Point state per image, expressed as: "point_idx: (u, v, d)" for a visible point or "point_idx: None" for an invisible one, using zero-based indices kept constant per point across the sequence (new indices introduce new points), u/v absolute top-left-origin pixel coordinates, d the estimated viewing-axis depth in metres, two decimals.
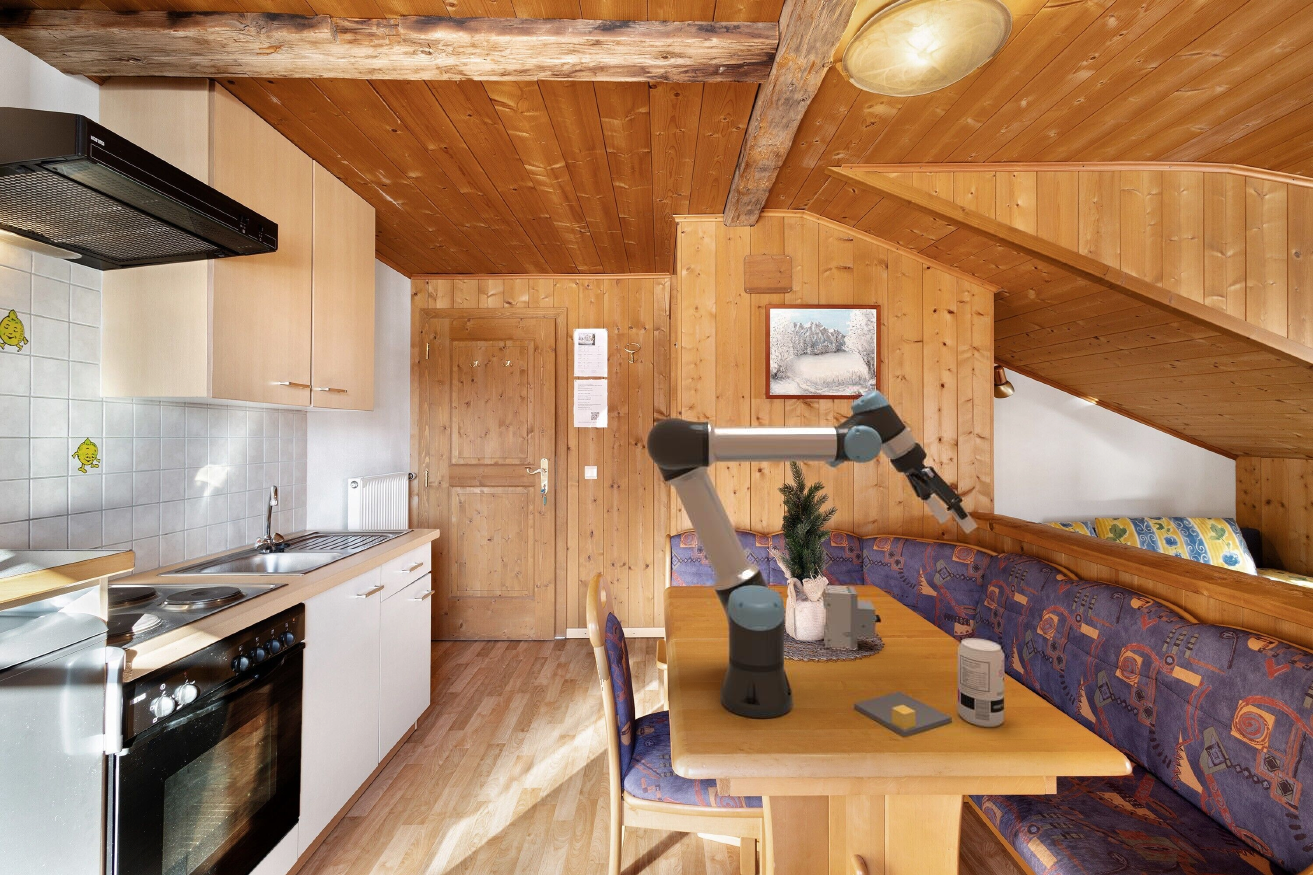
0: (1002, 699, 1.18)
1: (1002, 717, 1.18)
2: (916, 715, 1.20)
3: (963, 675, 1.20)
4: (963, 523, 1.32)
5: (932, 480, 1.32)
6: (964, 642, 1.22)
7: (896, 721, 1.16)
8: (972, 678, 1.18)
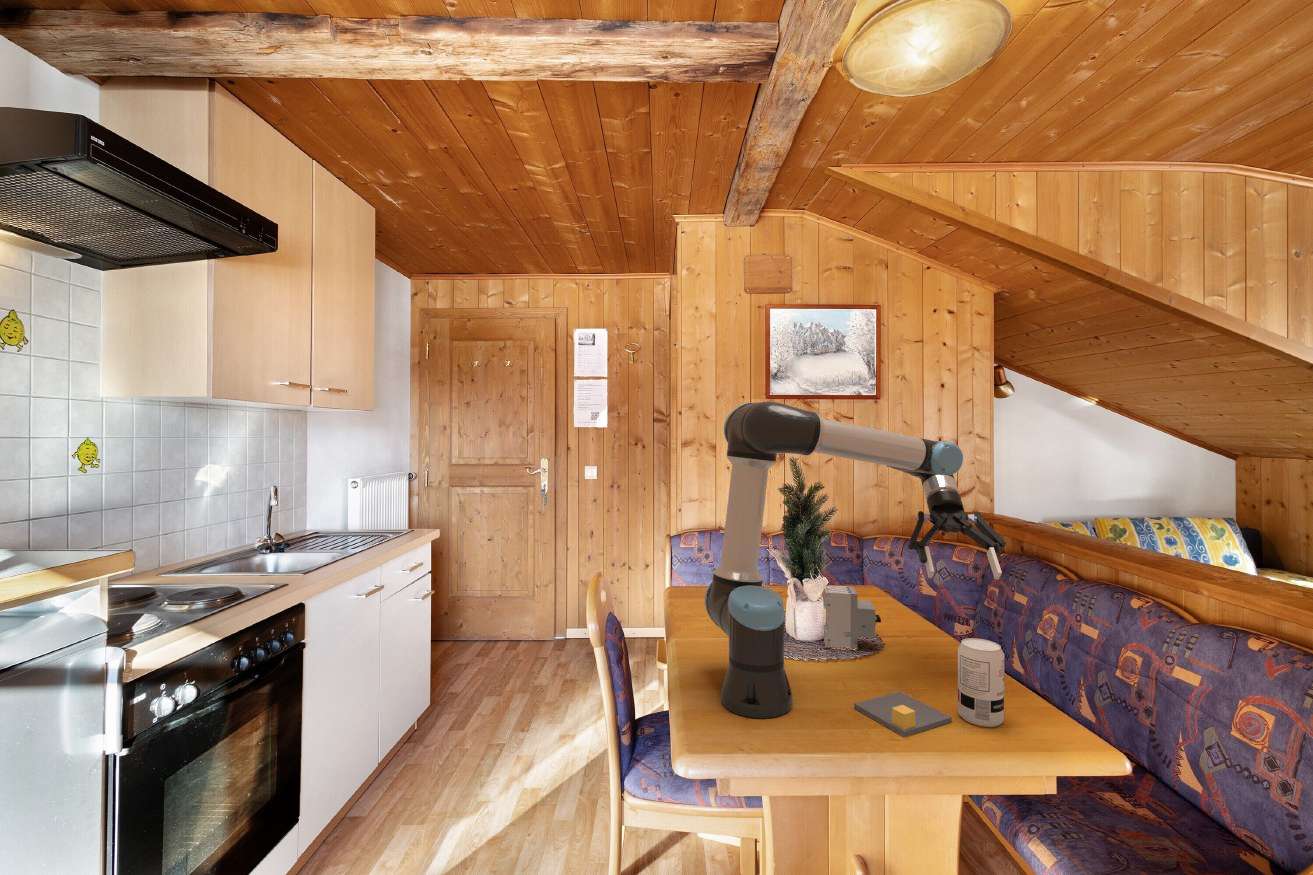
0: (1002, 699, 1.18)
1: (1002, 717, 1.18)
2: (916, 715, 1.20)
3: (963, 675, 1.20)
4: None
5: None
6: (964, 642, 1.22)
7: (896, 721, 1.16)
8: (972, 678, 1.18)
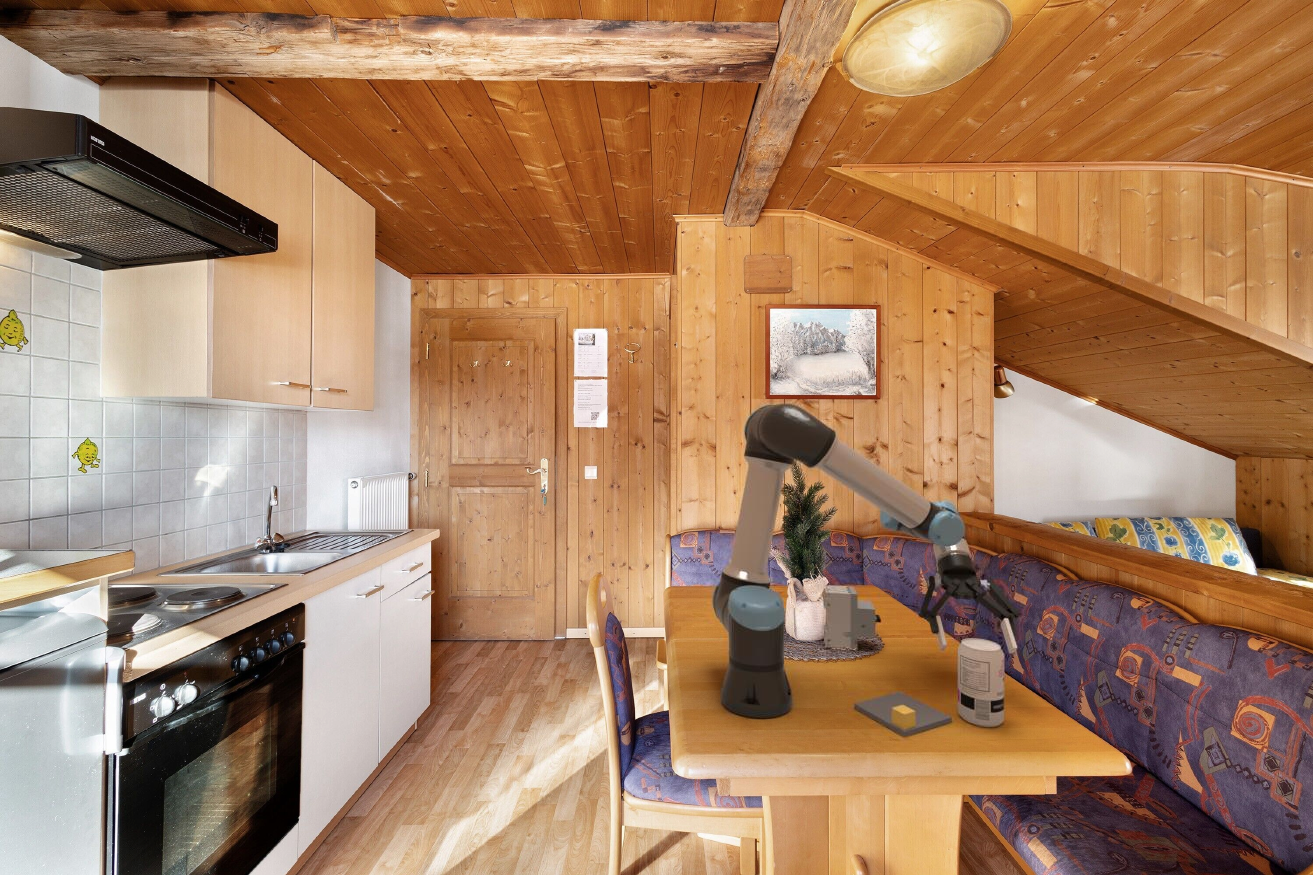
0: (1002, 699, 1.18)
1: (1002, 717, 1.18)
2: (916, 715, 1.20)
3: (963, 675, 1.20)
4: None
5: None
6: (964, 642, 1.22)
7: (896, 721, 1.16)
8: (972, 678, 1.18)
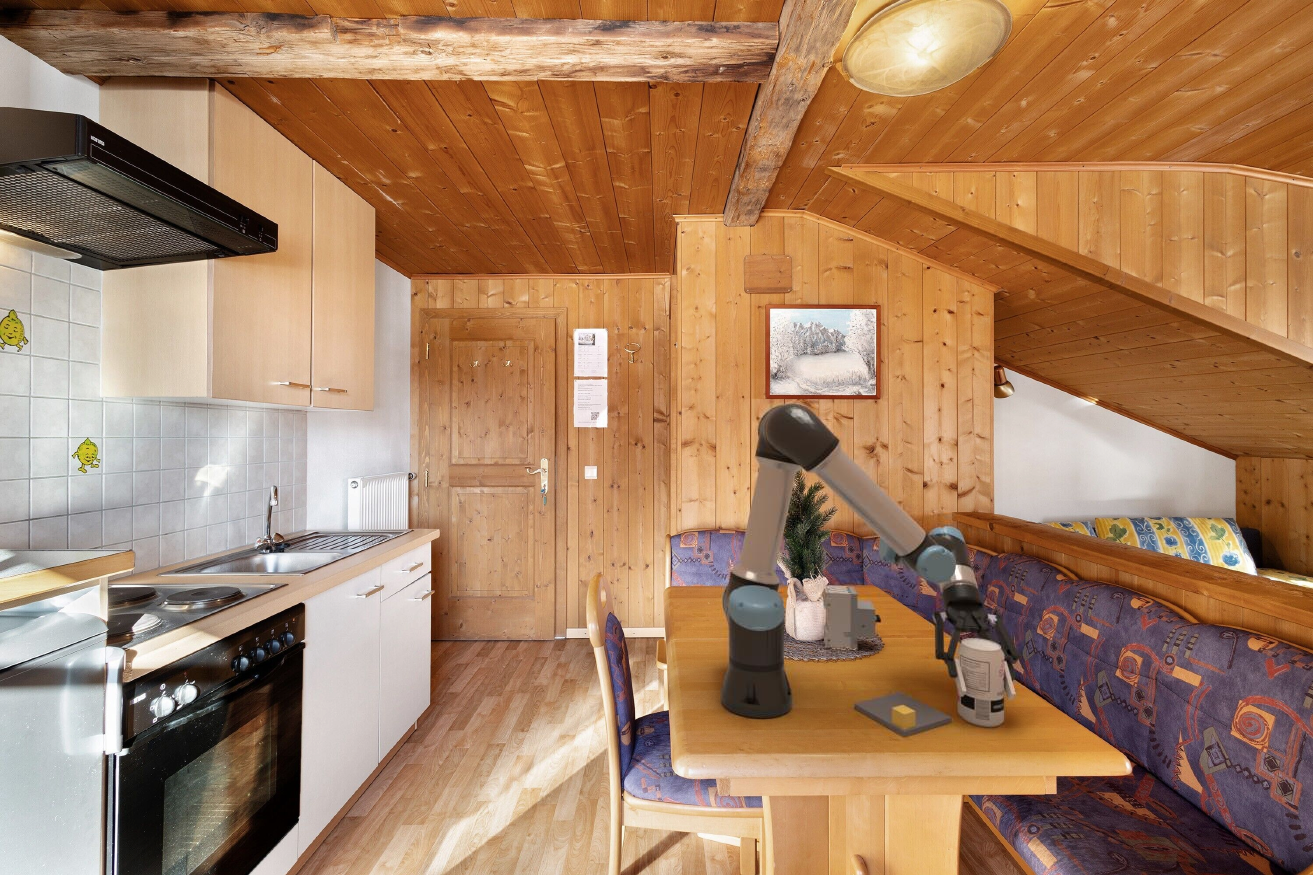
0: (1002, 699, 1.18)
1: (1002, 717, 1.18)
2: (916, 715, 1.20)
3: (963, 675, 1.20)
4: None
5: None
6: (964, 642, 1.22)
7: (896, 721, 1.16)
8: (972, 678, 1.18)
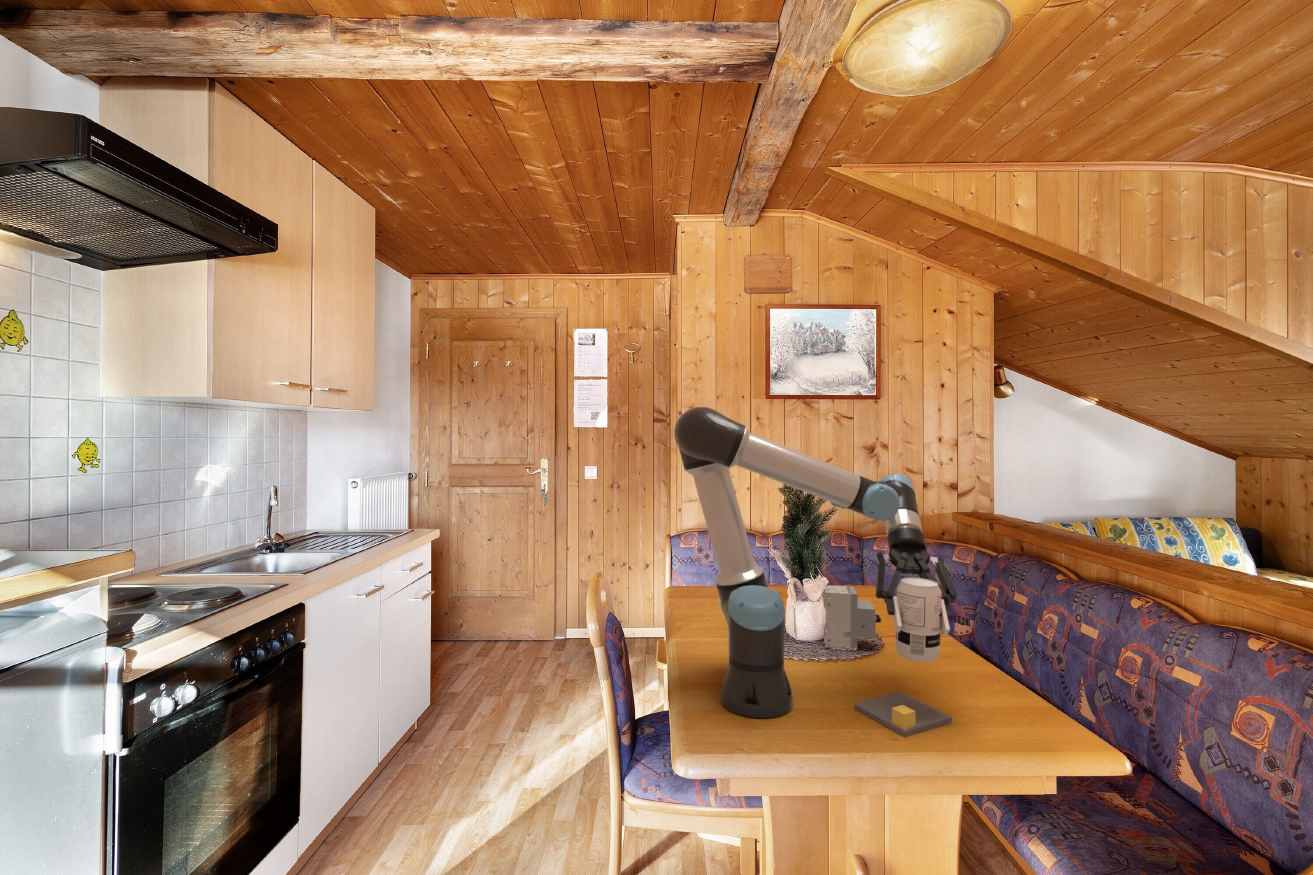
0: (937, 635, 1.19)
1: (937, 653, 1.19)
2: (916, 715, 1.20)
3: (900, 612, 1.21)
4: None
5: None
6: (903, 580, 1.23)
7: (896, 721, 1.16)
8: (908, 614, 1.19)
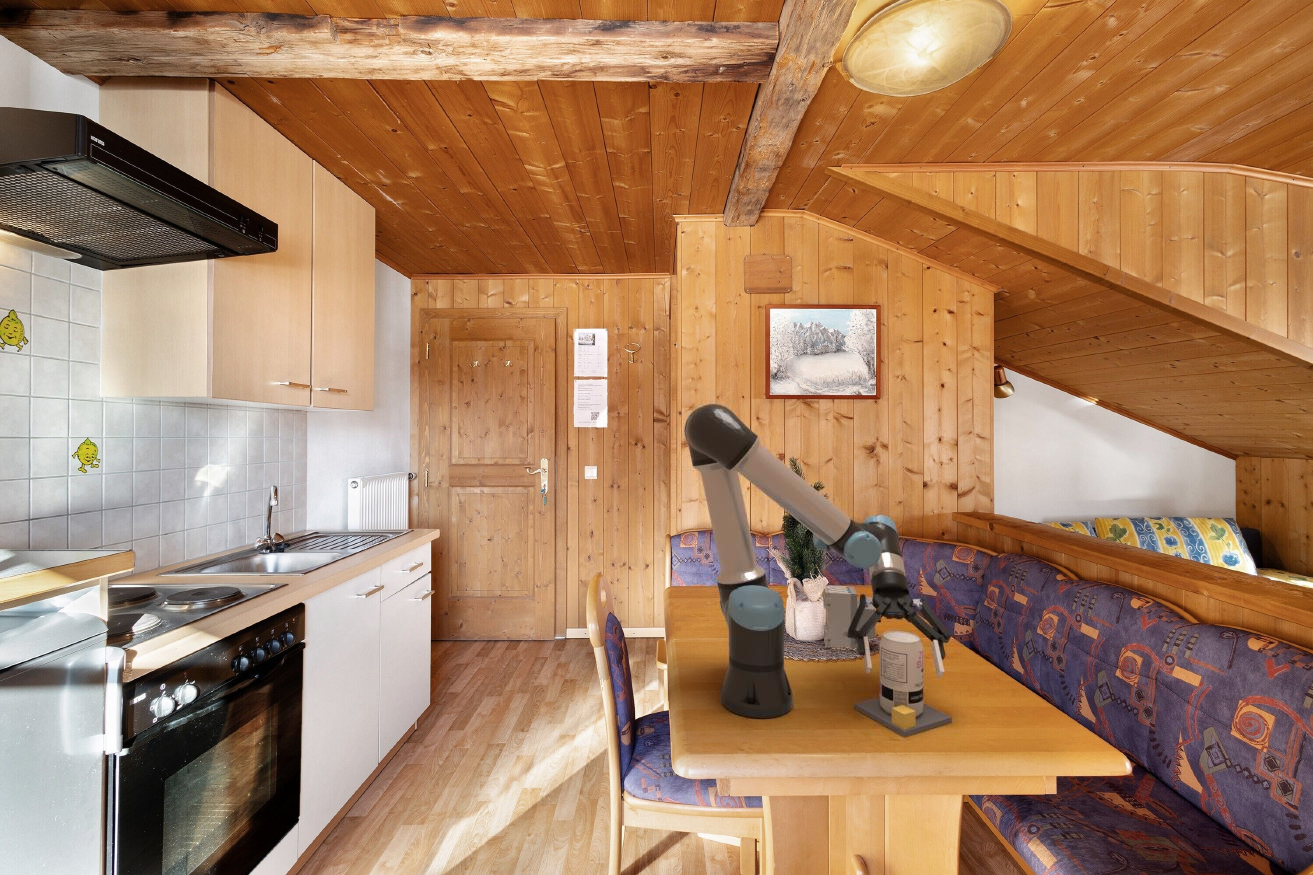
0: (920, 690, 1.19)
1: (920, 708, 1.19)
2: None
3: (883, 667, 1.22)
4: None
5: None
6: (886, 634, 1.24)
7: (896, 721, 1.16)
8: (891, 670, 1.20)
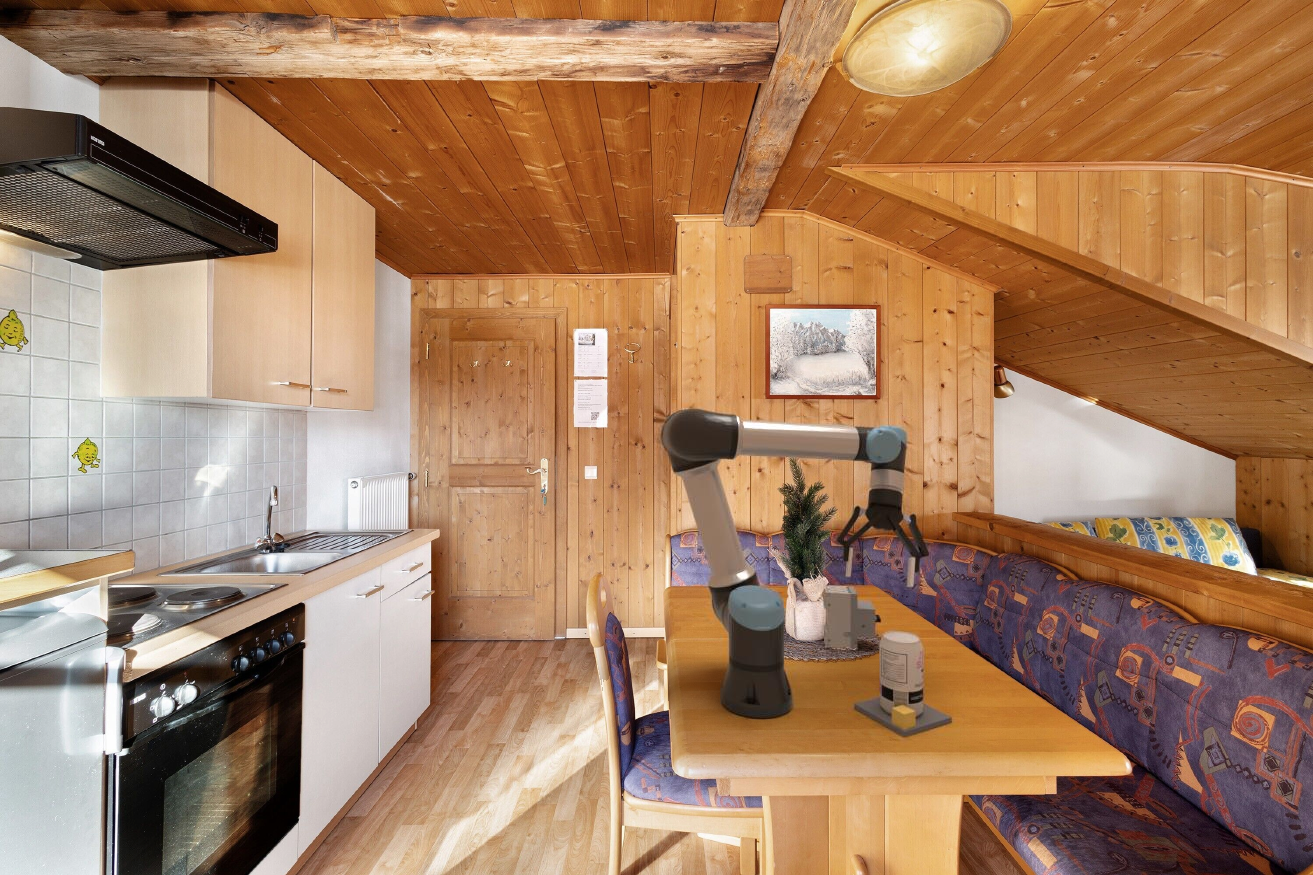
0: (920, 690, 1.19)
1: (920, 708, 1.19)
2: None
3: (883, 667, 1.22)
4: None
5: None
6: (886, 635, 1.24)
7: (896, 721, 1.16)
8: (891, 670, 1.20)
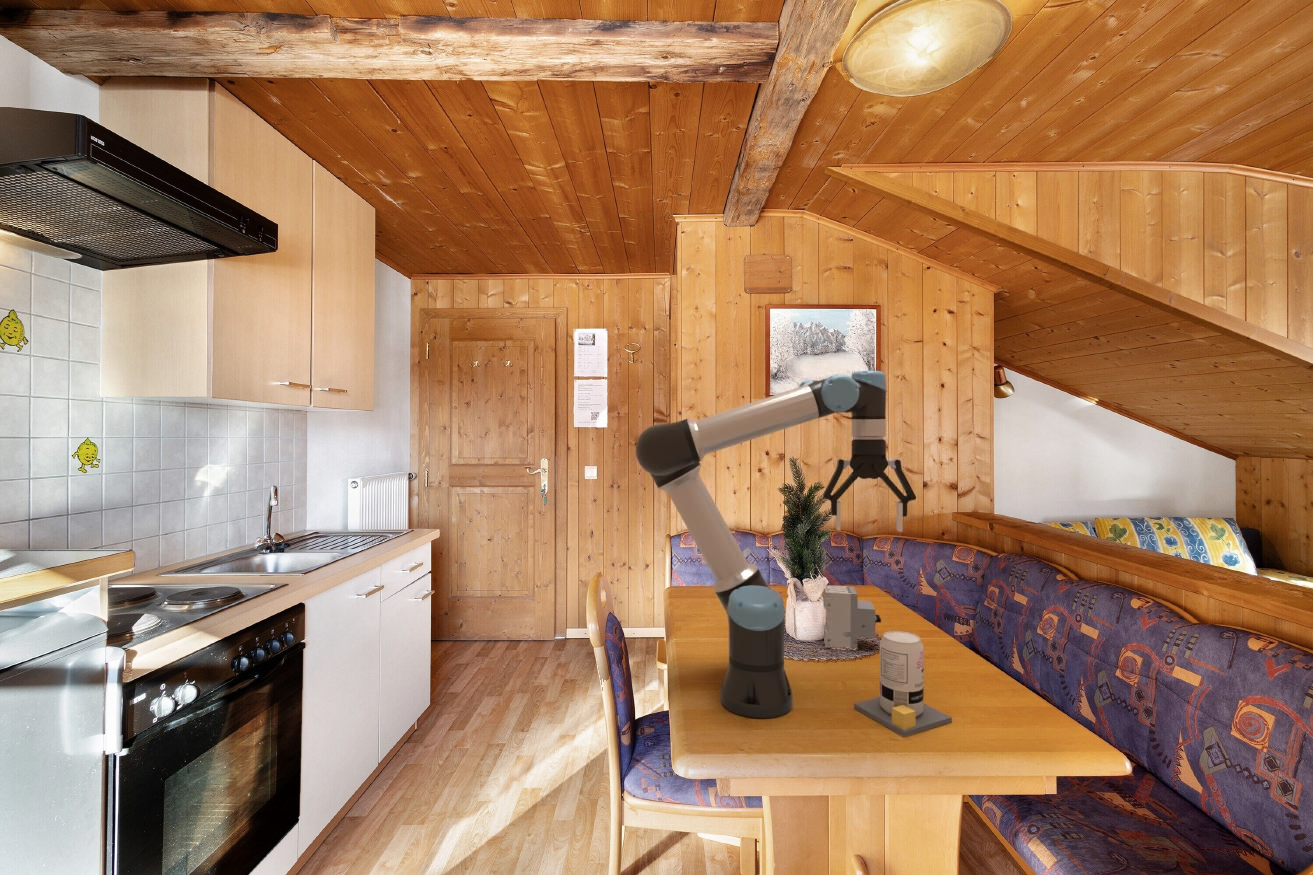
0: (920, 690, 1.19)
1: (920, 708, 1.19)
2: None
3: (883, 667, 1.22)
4: None
5: (901, 470, 1.37)
6: (886, 635, 1.24)
7: (896, 721, 1.16)
8: (891, 670, 1.20)
